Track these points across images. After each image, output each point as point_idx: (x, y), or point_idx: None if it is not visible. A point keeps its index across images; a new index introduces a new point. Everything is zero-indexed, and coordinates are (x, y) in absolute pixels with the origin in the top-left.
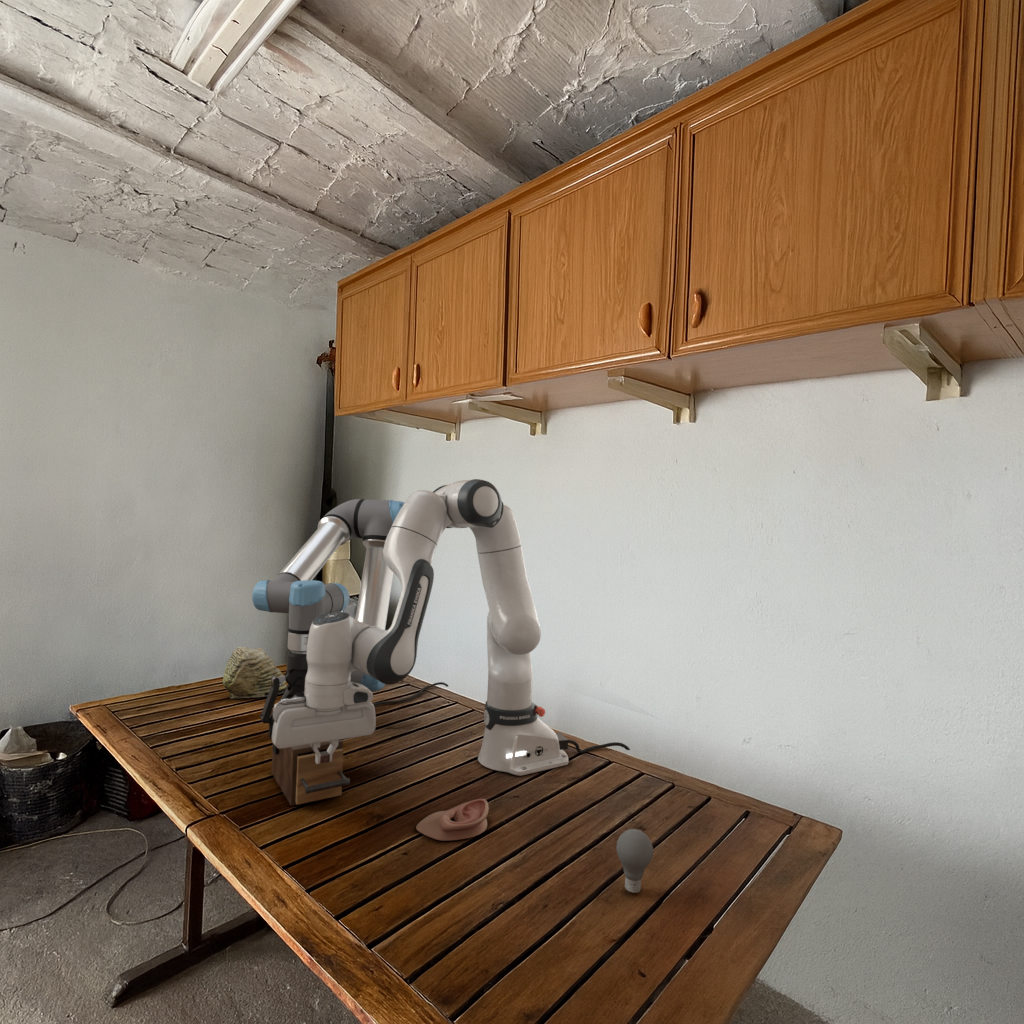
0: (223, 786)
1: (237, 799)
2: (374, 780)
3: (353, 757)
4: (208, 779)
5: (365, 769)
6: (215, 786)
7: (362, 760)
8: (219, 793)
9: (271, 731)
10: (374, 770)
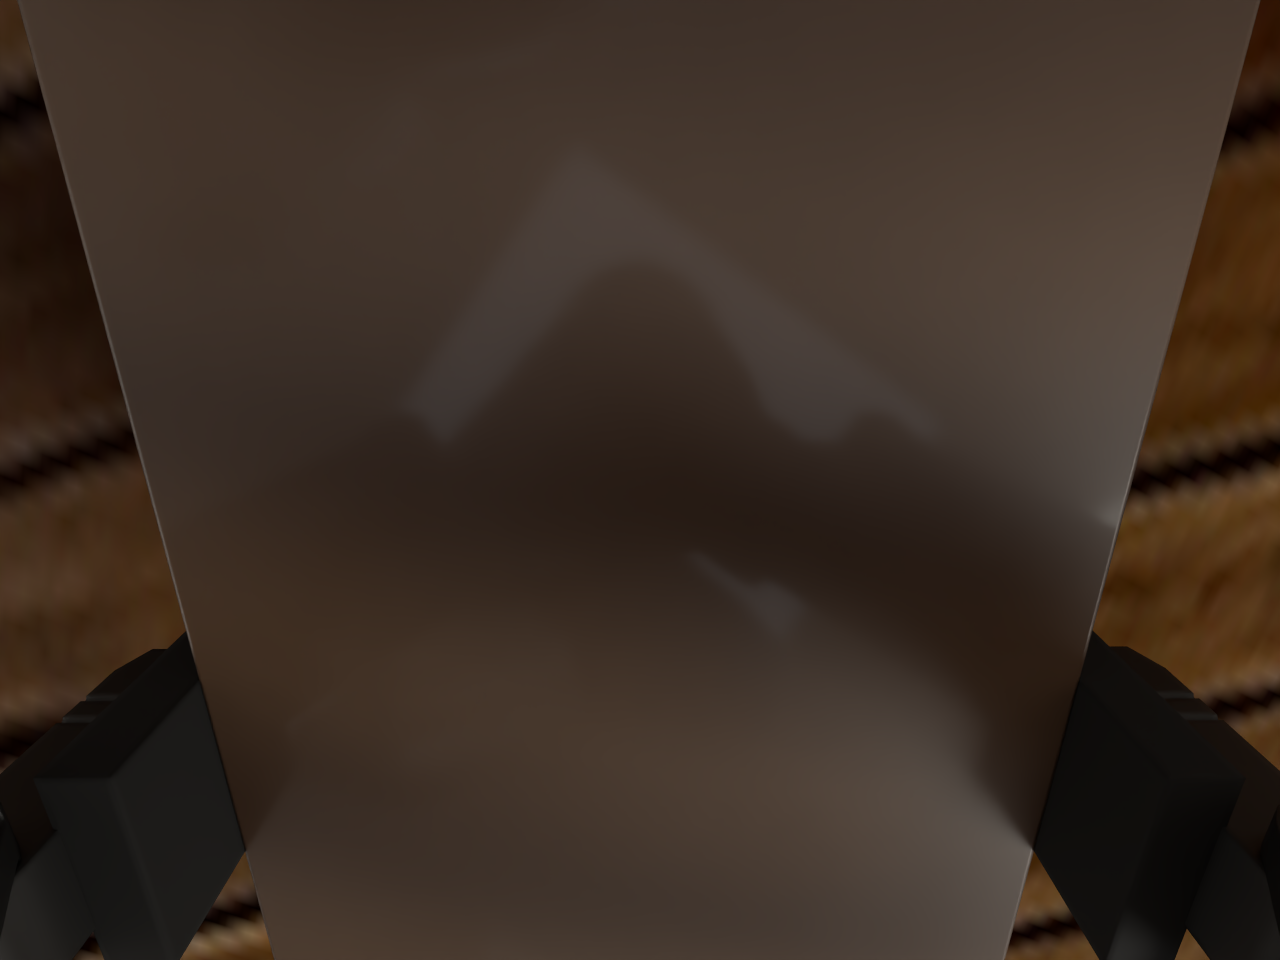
0: (1178, 546)
1: (1199, 276)
2: (20, 67)
3: (168, 611)
4: (1208, 690)
5: (89, 350)
6: (1222, 569)
7: (100, 530)
8: (1254, 446)
9: (1204, 728)
10: (7, 291)
